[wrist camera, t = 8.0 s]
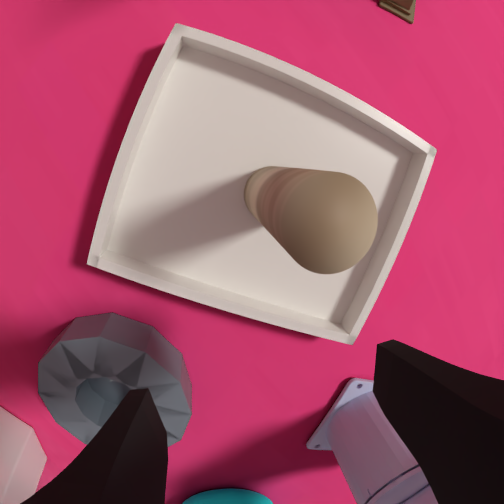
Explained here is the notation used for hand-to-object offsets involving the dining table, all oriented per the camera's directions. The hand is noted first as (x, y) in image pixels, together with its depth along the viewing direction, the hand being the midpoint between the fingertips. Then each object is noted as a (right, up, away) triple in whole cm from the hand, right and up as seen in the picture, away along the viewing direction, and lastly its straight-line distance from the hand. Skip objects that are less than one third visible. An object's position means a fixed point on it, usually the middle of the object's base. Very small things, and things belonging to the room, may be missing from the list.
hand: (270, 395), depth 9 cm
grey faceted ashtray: (-10, -4, +11) cm, 15 cm away
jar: (-24, -13, +11) cm, 29 cm away
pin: (+1, +7, +8) cm, 11 cm away
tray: (0, +8, +9) cm, 12 cm away
